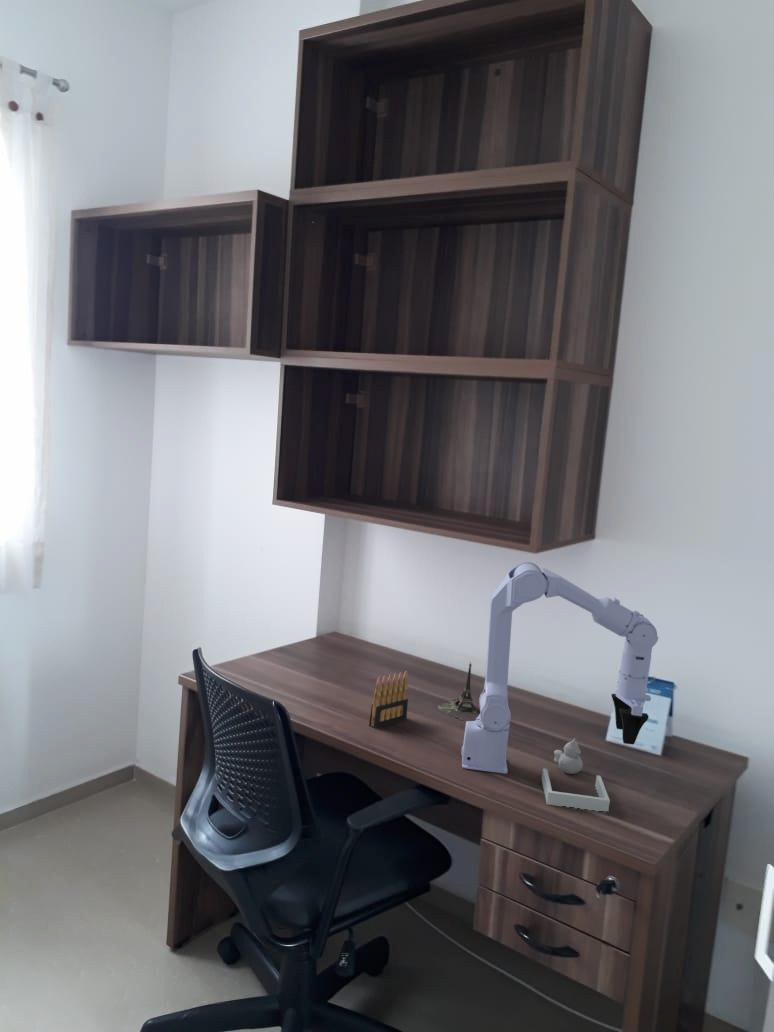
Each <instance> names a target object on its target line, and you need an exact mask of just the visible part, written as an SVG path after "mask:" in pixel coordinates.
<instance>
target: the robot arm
mask: <svg viewBox="0 0 774 1032" xmlns="http://www.w3.org/2000/svg"><path fill="white" fill-rule="evenodd" d="M541 569H542V570H541ZM543 596H545V598H547V599H548V598H553V597H560V598H562V599H564V600H566V601H568V602H570V603H572V604H573V605H576V606H577V607H579V608H581V609H584V610H585V611H587V612H589V613H591V618H592V620H593V622H595V623H596V624H598V625H600V626H601V627H603V628H604V629H606V630H609V632H612V633H614V634H616V635H618V636H619V637H625V639H624V643H623V645H624V646H623V650H622V655H621V660H620V661H621V662H620V666H619V668H620V669H619V673H618V674H619V675H618V684H617V689H616V691H615V693H611V694H610V695H611V698H612V702H613V706H614V714H615V727H616V730H622V742H623V744H626V745H635V743H636V741H637V738H638V735H639V733H640V731H641V729H642V727H643V726H644V724H645V723H646V722H647V721H648V719H649V714H648V713H645V712H644V706H645V705H644V704H645V703H646V702H651V700H652V696H650V694H646V693H647V687H648V682H649V681H648V680H649V673H650V668H651V662H652V661H651V660H652V651H653V648H654V646H655V645H656V644H657V642H658V641H659V636H658V631H657V628H656V627H655V625H654V624H653V623H652V622H651V621H650V620H649V619H648V617H645V616H644V615H643V614H641V613H640V612H639V611H637V610H634V611H633V610H632V609H629V608H627V607H625V606H624V605H622V604H621V601H620V600H619V599H617V598H616V597H613V598H609V597H603V598H597V597H595V596H594V595H593V594H590V593H589V592H588V591H586V590H584V589H583V588H581V587H579V586H577V585H576V584H574V583H573V582H571V581H569V580H568V579H566V578H564V577H562V576H561V575H559V574H557V573H556V572H553V571H551V570H549V569H548V568H545V567H541V568H540V567H539V566H538V565H537V564H536V563H534V562H531V561H523V562H521V563H518V564H517V565H516V566H515V567H512V568H511V569H509V570H508V572H507V574H506V576H505V577H504V578H503V580H502V581H501V583H500V584H499V585H498V587H497V588H496V590H495V591H494V592H493V593H492V595H491V597H490V606H489V619H488V620H489V621H488V622H489V623H488V635H487V636H488V638H487V654H486V665H485V667H486V669H485V670H486V671H485V679H484V683H483V684H484V686H483V690H482V692H481V693H480V696H479V699H478V704H479V712H480V713H479V715H478V716H477V717H476V718H475V720H468V721H467V720H466V721H465V725H464V726H465V727H464V735H463V736H464V737H463V742H462V743H463V744H462V746H461V750H460V751H461V752H460V754H461V768H463V769H466V770H467V769H469V770H475V771H481V772H482V771H483V772H489V773H496V774H497V773H498V774H503V775H504V774H505V775H507V774H508V764H507V751H508V750H507V749H508V743H509V742H508V741H509V733H510V725H511V724H510V722H511V719H512V714H511V713H512V712H511V711H510V708H509V699H508V682H509V681H508V679H509V663H510V651H511V648H510V647H511V636H512V621H513V618H512V617H513V611H515V610H516V609H518V608H519V607H520V606H523V604H526V603H531V602H533V601H536V600H538V599H540V598H541V597H543Z"/></svg>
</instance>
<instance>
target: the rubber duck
mask: <svg viewBox="0 0 774 1032" xmlns="http://www.w3.org/2000/svg"><path fill="white" fill-rule="evenodd" d="M579 747H580V746H579V743H578V742H577V740H576V737H574V738H573V739H572V741H569V742H567V743H566V744H565V745H564V747H563V751H562V750H561V749H555V750H554V751H553V754H554V758H553V761H554V763H557V764H558V768H559V769H560V770H561V771H562V772H564V773H566V774H569V775H574V774H575V775H576V773H579V772H580V771H582V769H583V766H584V764H583V760H582V758H581V757H580V755H581V753H582V751H581V749H580V748H579Z"/></svg>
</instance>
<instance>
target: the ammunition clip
mask: <svg viewBox="0 0 774 1032" xmlns="http://www.w3.org/2000/svg"><path fill="white" fill-rule="evenodd" d="M408 674H409V673H408V670H405V672H404V674H403V672H402V671H400V672H399V673H398V674H397V672H395V673H394V674H393V675H394V676H393V675H392V674H391V673H390V674H389V676H388V678H387V676H386V675H385V674H384V675H383V678H382V679H381V676H378V678H377V680H376V684H375V689H374V694H373V702H372V704H371V709H370V716H369V723H368V725H369V726H370V727H371V728H373V729H377V728H380V727H383V726H384V727H385V726H387V725H391V724H395V723H399V722H402V721H405V720H407V719H408V718H407V717H408V704H409V703H408V702H409V699H408V698H407V697H408V692H409V691H408V690H409V688H408V684H409V682H408V680H409V675H408Z"/></svg>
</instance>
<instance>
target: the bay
mask: <svg viewBox="0 0 774 1032" xmlns="http://www.w3.org/2000/svg"><path fill="white" fill-rule="evenodd" d="M541 773H542V774H541V782H542V789H543V792H544V798H545V802H546V805H548V806H549V805H550V806H554V807H555V806H557V807H562V806H566V807H565V808H569V807H574V808H573V809H577V808H580V809H579V810H584V809H588V810H587V811H591V810H595V811H594V812H598V811H608V812H609V808H610V803H611V800H610V798H609V794H608V792H607V790H606V787H605V784H604V781H603V779H602V776H601V775H596V777H595V783H594V788H595V787H596V788H595V791H596V790H597V791H596V793H598V794H597V796H591V795H583V794H576V793H569V792H562V791H555V790H552V785H551V781H550V780H551V779H550V777H549V772H548V768H545V767H544V768H542V772H541ZM598 796H599V797H598Z"/></svg>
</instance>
